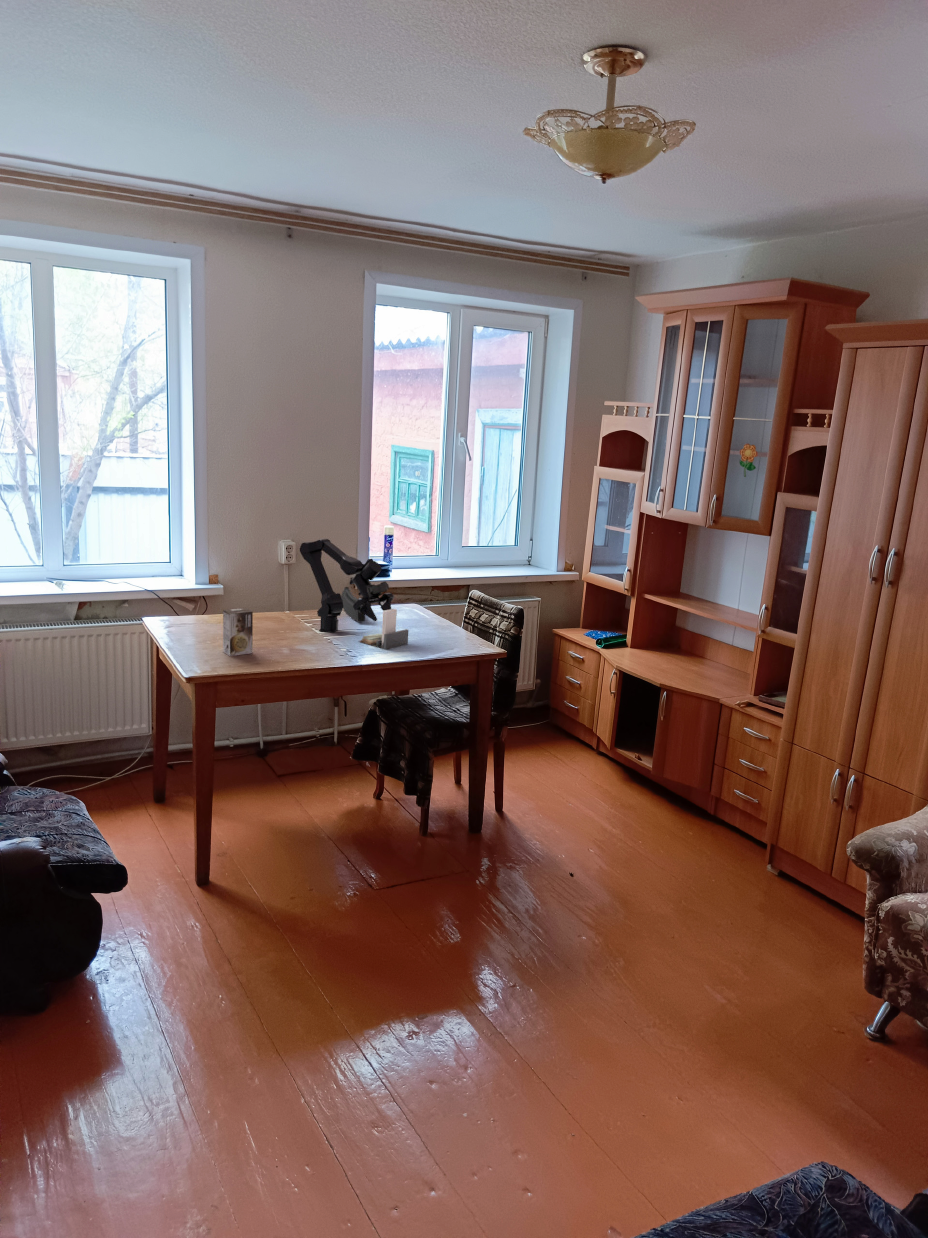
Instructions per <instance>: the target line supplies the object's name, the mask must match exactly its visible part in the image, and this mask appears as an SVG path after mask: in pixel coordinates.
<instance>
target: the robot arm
mask: <svg viewBox="0 0 928 1238" xmlns="http://www.w3.org/2000/svg"><path fill="white" fill-rule="evenodd" d="M322 551H323V552H322ZM299 553H300V555H301V556H302V558H303V559H304V561H305V562H307V563H308V564H309V566H310V568H311V571H312V574H313V576H314V579H315V581H316V584H317V586H318V589H319V592H320V594H321V598H320V599H321V600H320V604H321V607H320V608H318V610H316V611H317V617H320V624H319V625H320V627H319V628H320V629H319V630H318V631H319V632H326V633H335V632H336V631H338V630H339V619H338V617H339V616H341V614H342V611H343V610H344V609H343V600H342V599H341V595H342V594H340V592H338V593H336V592H335V591H334V590H333V587H332V585H331V582H330V579H329V577H328V574H327V571H326V569H325V568H324V564H323V562H322V555H323V553H325V554H326V555H327V556H329V557H330V558H331V559H333V560H334V561H335V562H336V563H338V564H339V567H340V569H341V571H342V572H343V573H344V574H345V575H346V576H352V575H353V577H350V580H349V585H355V587H356V588H357V590H358V594H357V595H358V596H360V597H359V598H357V599H358V600H357V601H356V602H355V603H354V604H353V608H354V610H355V611H358V612H361V613H362V614H364V615H365V617H368V618H369V619H371V620H372V621H374V622H377V621H378V618H377V616H376V614H375V612H374V610H373V609H372V604H373V605H374V604H378V605H379V606H380V609H381V610H382V612H383V611H384V610H390V609H392V602H393V600H394V598H395V595H393V593H392V592H388V589H389V588H390V586H389V584H388V582H387V581H382V582H380V583H379V584H375V583H373V584H372V583H371V581H373V580H374V579H375V578H376V577H377V575H378V574H380V572H381V571H382V566H381V564H380V563H378V562H377V561H376V560H373V558H368V559H367V560H366V562H365V563H363V562H362V561H361V560H359V559H358V558H356V557H354V556H350V555H347V554H346V552H344V551H343V550H341V549H340V548H338V546H337V545H335V544H334V543H332V541H331V540H330V539H329V538H321V539H320V538H319V539H317V540H315V541H306V542H302V543H301V544H300V547H299ZM384 592H385V593H384Z"/></svg>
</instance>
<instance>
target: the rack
mask: <svg viewBox="0 0 928 1238" xmlns="http://www.w3.org/2000/svg"><path fill="white" fill-rule="evenodd" d="M409 632H410V631H409V629H408V628H405V629H401V630H398V631H396V632H392V633H387V634H384V642H383V646H382V645H381V642H382V639H381V640H377V642H376V644H372V645H370V644H367V643H363V642H360V640H359V641H358V643H360V644H364V645H366V646H371V647H375V648H377V649H381V650H385V651H386V650H392V649H396V648H399V647H404V646H407V645H408V644H409Z"/></svg>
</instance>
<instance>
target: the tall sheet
mask: <svg viewBox="0 0 928 1238" xmlns="http://www.w3.org/2000/svg"><path fill="white" fill-rule="evenodd" d="M397 614H398V611H397V608H391V609H390V610H384V611H383V610H382V626H381V627H382V628H381V634H382V642H381V645H382V646H383V642H384V634H387V633H392V632H396V630H397Z"/></svg>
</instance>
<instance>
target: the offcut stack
mask: <svg viewBox="0 0 928 1238" xmlns="http://www.w3.org/2000/svg"><path fill="white" fill-rule="evenodd" d="M381 639H382V633H376V634H369V635H363V636H362V638H361V639H360V640H359V641H360V642H363V643H367V644H370V645H372V644H376V642H377V640H381ZM363 643H362V644H363ZM367 644H366V645H367ZM370 645H369V646H370Z"/></svg>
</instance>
